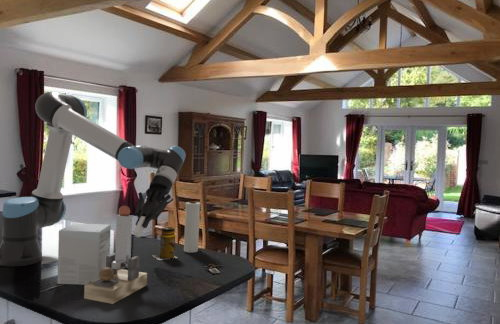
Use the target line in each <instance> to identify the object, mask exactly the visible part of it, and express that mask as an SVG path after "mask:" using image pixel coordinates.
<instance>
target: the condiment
mask: <svg viewBox="0 0 500 324" xmlns="http://www.w3.org/2000/svg"><path fill="white" fill-rule="evenodd" d="M159 241H160V242H159V254H152V255H151V256H152V257H153V258H154V259H155V258H156V260H157V261H164V260H171V259H170V258H173V259H174V258H175V259H178V256H175V253H176V252H175V251H176V234H175V227H170V226H165V227H162V228H161V234H160V239H159ZM157 256H158V257H157ZM160 258H163V259H160ZM173 259H172V260H173Z"/></svg>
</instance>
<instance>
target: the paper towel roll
mask: <svg viewBox="0 0 500 324" xmlns="http://www.w3.org/2000/svg"><path fill="white" fill-rule="evenodd" d="M200 209H201V202H197V201H188V202H185V215H184V237H183V238H184V239H183V240H184V241H183V252H185V253H189V254H190V253H197V252H198V251H199V242H200V241H199V234H200V215H201V214H200V211H201V210H200Z"/></svg>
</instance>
